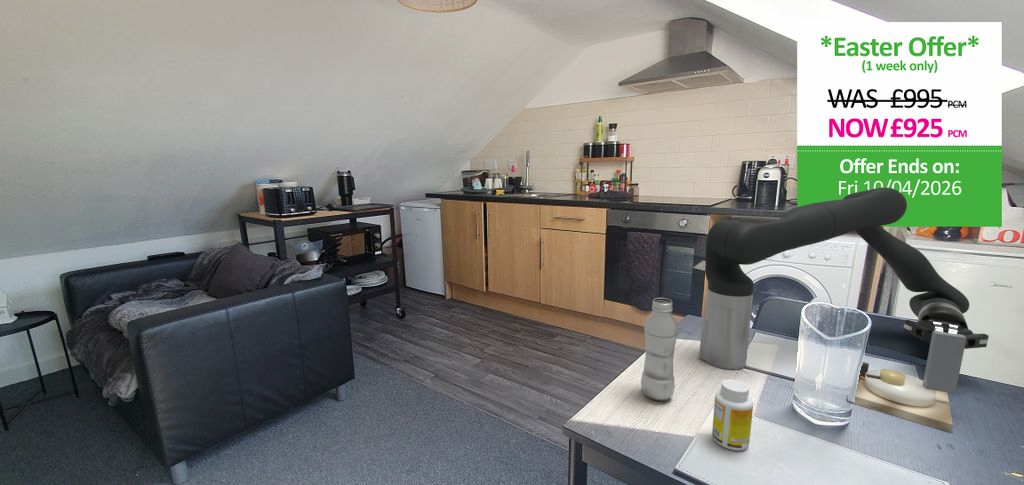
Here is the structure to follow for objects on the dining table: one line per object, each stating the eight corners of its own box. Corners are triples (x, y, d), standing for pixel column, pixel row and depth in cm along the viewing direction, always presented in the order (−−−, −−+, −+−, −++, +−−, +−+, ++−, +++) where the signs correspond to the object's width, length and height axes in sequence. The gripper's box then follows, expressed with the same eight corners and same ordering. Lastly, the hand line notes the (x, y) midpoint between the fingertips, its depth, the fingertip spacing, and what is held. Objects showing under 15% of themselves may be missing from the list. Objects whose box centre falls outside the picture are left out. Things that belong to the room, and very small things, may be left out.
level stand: (846, 401, 80) (850, 380, 79) (853, 374, 90) (856, 355, 89) (950, 432, 70) (955, 408, 70) (945, 399, 80) (950, 377, 80)
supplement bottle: (754, 442, 69) (760, 386, 67) (740, 457, 65) (746, 398, 63) (720, 426, 73) (725, 373, 71) (705, 439, 69) (710, 384, 67)
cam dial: (872, 397, 78) (882, 333, 76) (858, 374, 87) (868, 316, 84) (963, 416, 72) (978, 346, 70) (939, 389, 81) (952, 326, 78)
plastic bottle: (638, 401, 81) (643, 304, 77) (641, 384, 87) (646, 293, 83) (673, 408, 78) (680, 308, 75) (674, 390, 85) (680, 297, 81)
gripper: (904, 299, 97) (903, 319, 85) (988, 313, 88) (1001, 337, 76) (899, 329, 99) (897, 353, 86) (981, 345, 90) (993, 374, 77)
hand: (946, 346), depth 81 cm, fingers closed
